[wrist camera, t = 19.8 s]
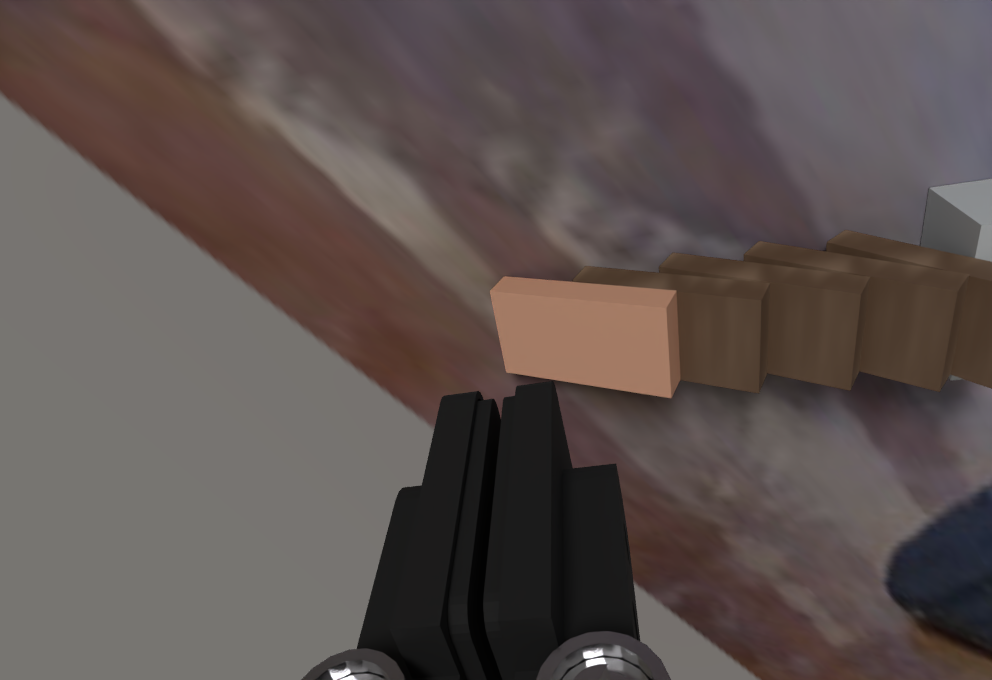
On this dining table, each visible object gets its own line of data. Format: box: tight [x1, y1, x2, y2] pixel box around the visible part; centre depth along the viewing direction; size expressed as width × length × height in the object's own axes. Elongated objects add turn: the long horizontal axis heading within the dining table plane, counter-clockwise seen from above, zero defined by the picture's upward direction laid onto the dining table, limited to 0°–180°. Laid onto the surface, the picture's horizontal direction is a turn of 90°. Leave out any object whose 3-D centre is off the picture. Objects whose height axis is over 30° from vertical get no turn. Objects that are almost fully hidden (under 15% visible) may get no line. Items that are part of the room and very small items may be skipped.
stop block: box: [920, 179, 992, 381], centre depth 33 cm, size 3×8×4 cm, turn 10°
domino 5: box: [826, 230, 992, 388], centre depth 32 cm, size 2×5×9 cm
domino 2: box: [572, 266, 770, 393], centre depth 34 cm, size 2×5×9 cm
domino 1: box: [490, 276, 681, 398], centre depth 35 cm, size 2×5×9 cm
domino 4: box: [744, 241, 969, 392], centre depth 33 cm, size 2×5×9 cm
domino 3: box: [659, 253, 870, 391], centre depth 33 cm, size 2×5×9 cm
